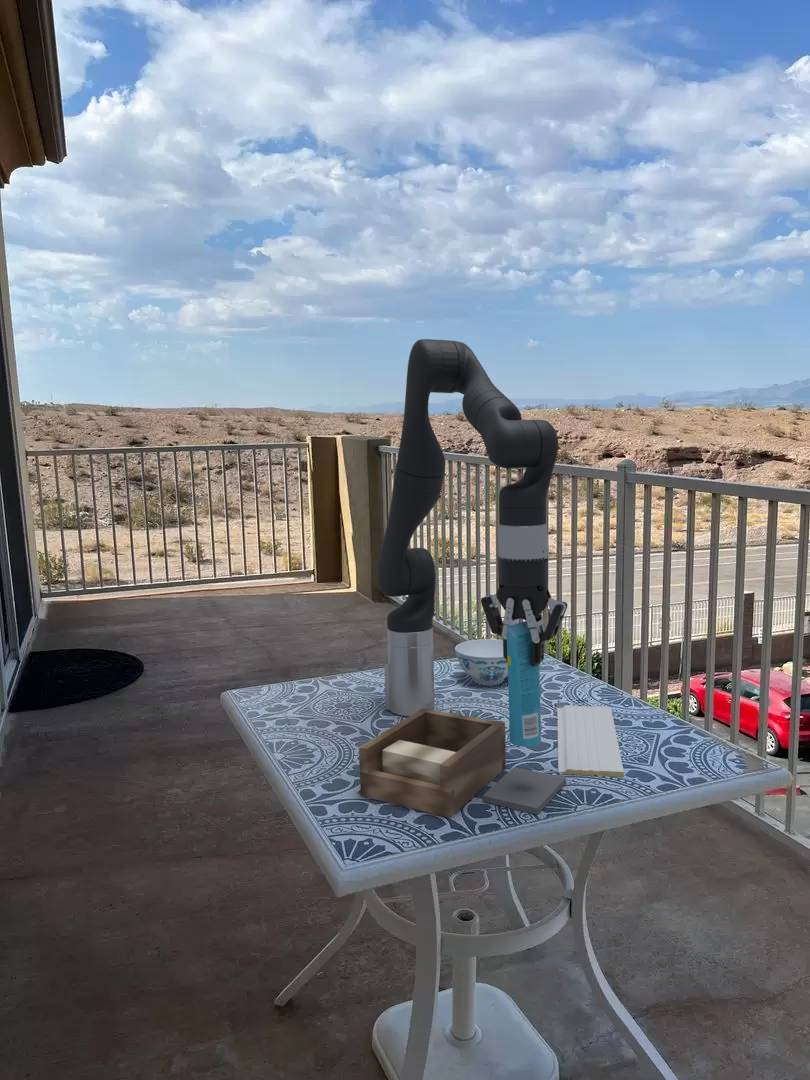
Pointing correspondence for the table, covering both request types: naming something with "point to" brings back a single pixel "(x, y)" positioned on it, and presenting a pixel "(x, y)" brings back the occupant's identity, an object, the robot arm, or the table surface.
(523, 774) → the mat
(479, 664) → the chinaware
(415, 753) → the offcut top
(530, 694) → the tube
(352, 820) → the table surface
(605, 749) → the baseboard molding
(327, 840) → the table surface
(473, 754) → the open wooden box
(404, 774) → the offcut middle
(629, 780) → the table surface
